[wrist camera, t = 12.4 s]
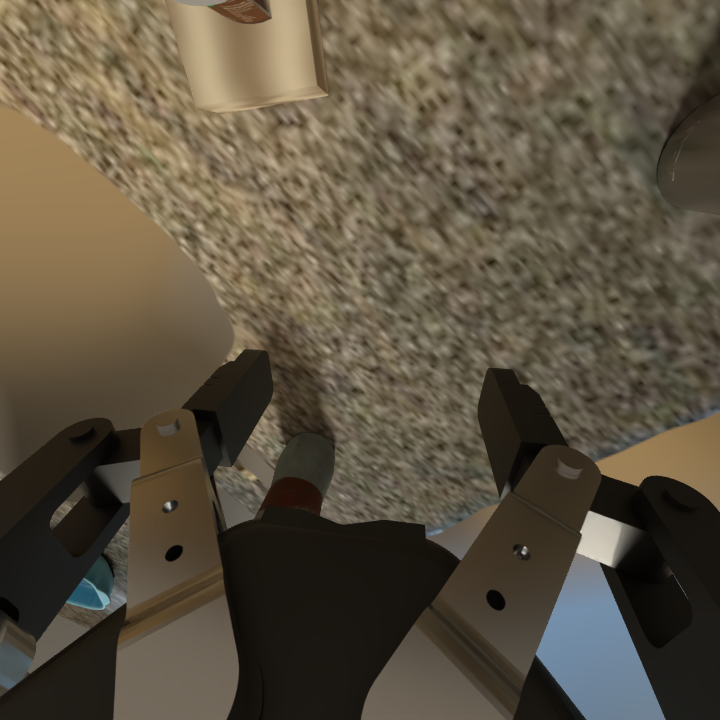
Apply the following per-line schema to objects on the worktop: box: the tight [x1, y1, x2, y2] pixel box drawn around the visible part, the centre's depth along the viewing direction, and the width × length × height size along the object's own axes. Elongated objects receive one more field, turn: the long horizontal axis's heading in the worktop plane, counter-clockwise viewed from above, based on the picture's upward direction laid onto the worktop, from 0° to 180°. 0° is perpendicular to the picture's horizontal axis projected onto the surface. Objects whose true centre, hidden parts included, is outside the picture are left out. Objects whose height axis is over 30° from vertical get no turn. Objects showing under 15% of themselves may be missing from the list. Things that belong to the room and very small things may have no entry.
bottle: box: [254, 433, 335, 519], centre depth 42 cm, size 9×9×30 cm
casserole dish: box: [66, 555, 114, 610], centre depth 87 cm, size 37×22×7 cm, turn 78°
